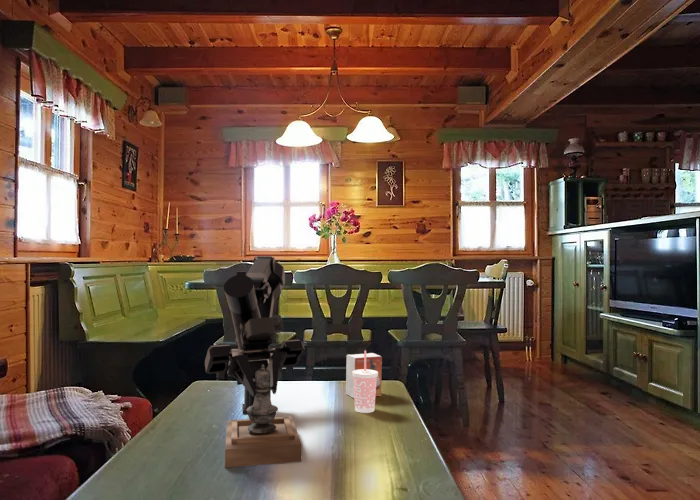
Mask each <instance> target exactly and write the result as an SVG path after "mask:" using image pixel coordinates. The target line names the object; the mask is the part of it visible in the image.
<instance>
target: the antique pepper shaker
mask: <svg viewBox="0 0 700 500" xmlns="http://www.w3.org/2000/svg"><path fill="white" fill-rule="evenodd" d="M261 367H262V368H261V369H259V370H257V371H256V373H255V390H256V395H255V397H254V403H253V405H252V406H250V407H248V408H247V409H246V411H247V412H248V413H247V416H248V419H250V420H251V421H252V422H253V424H251V425H250V426H249V427H248V430H249V431H250V432H254V433H267V432H271V431H274V430H275V429H276V426H275V425H274V424H273V423H270V422H272V421H273V420H274V418H276V417H277V412H278V411H279V407H278V406H276V405H275V404H274V405H273V404H272V400H271V394H272V387H270V371H269V370H267V369H265V368H264V367H265V366H264V364H262V366H261Z"/></svg>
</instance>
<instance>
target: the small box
mask: <svg viewBox="0 0 700 500" xmlns="http://www.w3.org/2000/svg"><path fill="white" fill-rule="evenodd" d="M345 361H346V370H345V371H346V373H345V378H346V379H345V395H348V396H349V397H351V398H352V399H354V400H355V398H354V377H353V375H352V374H353V373H352V371H354V370H359V369H364V353H355V354H346V360H345ZM382 365H383V356H381V355H379V354H377V353H374V352H368V353H366V369H370V370H375V371H377V372H378V376H377V381H376V395H375V398H377V397H376V396H380V397H382V378H383V377H382V367H383V366H382Z"/></svg>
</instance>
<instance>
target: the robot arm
mask: <svg viewBox="0 0 700 500" xmlns="http://www.w3.org/2000/svg"><path fill="white" fill-rule="evenodd" d="M285 283H286V272H285V269H284V266H283V265H281V264H280V263H279V262H277V261H276V259H275V257H274V256H271V255H270V256H269V255H257V256H254V257H253V264H252V265H251V266H250V268H249V270H248V271H239V270H237V271H236V275H233V276H231V277H229V278H228V279H227V280H226V281H225V282H224V285H223V290H224V294H225V297H226V301H227V304H228V308H229V310H230V314H231V319H232V324H233V327H234V334H235V344H236V345H237V346H238V347H237V348H232V347H231V344H216V345H210V346H209V347H208V349H207V351H206V356H205V360H204V367H205V374H207V375H212V374H220V373H221V374H222V373H223V372H224V371H225V370H226V364H227V367H228V368H227V376H233V377H234V379H236V384H237V386H238V385H239V386H240V385H242V387H244V388H243V389H244V391H243V394H244V397H243V398H244V399H243V400H244V401H243V403H242V404H241V405H242V406H241V407H242V409H241V410H242V414H248V412H247V411H246V409H247V408H248V407H250V406H252V405H253V403H254V397H255V395H256V390H255V373H256V371H257V370H259V369H261V368H262V367H261V366H262V364H264V366H265V367H264V368H265V369H267V370H269V371H270V387H272V390H271V394H273V395H276V393H277V391H278V390H277V389H278V381H279V371H280V370H281V369H282V368H287V367H294V366H297V365H299V363H300V361H301V359H302V356H303V355H304V352H305V350H306V349H305V345H304V343H303V342H302V340H300V339H290V340H289V339H287V340H282V342H281V344H280V346H279V347H278V348H276V347H271V346H270V345H272V343H273V336H275V335H276V334H280V333H281V332H282V331H283V330H284V322H283V319H282V318H283V317H282V316H281V314H277V315H276V314H275V315H273V311H274V305H275V300H276V299H277V298H278V297H279V296H280V295H281V294H282V292H283V291H282V289H283V286H285Z"/></svg>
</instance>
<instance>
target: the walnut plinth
mask: <svg viewBox="0 0 700 500" xmlns="http://www.w3.org/2000/svg"><path fill="white" fill-rule="evenodd" d="M270 423H273V424H274V425H275V426H276V429H275V430H274V431H271V432H267V433H254V432H250V431H249V430H248V427H249V426H250V425H251V424H253V422H252V421H251V420H250V419H249V418H244V419H230V420H226V427H225V429H226V430H225V447H224V468H225V469H226V468H235V467H236V468H237V467H238V466H239V467H251V466H261V465H262V466H265V465H277V464H288V463H289V464H290V463H302V461H303V460H302V456H303V455H302V454H303V453H302V452H303V451H302V450H303V444H302V441H301V438H300V435H299V432H298V430H297V427H296V423H295V421H294V419H293V416H280V417H277V416H275V418H274V420H273V421H272V422H270Z"/></svg>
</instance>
